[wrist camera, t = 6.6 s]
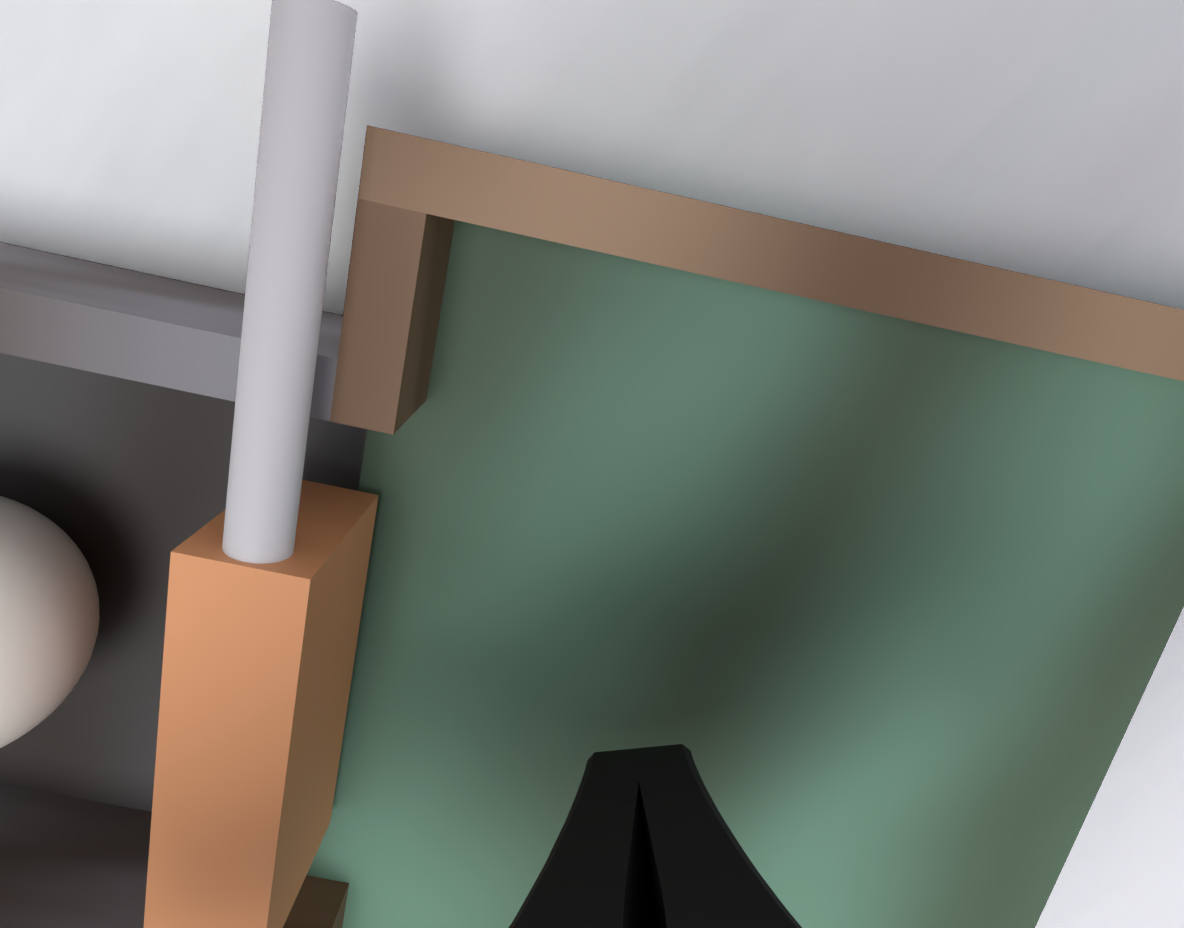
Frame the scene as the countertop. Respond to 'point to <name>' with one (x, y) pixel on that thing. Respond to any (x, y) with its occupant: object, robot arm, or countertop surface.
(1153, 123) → the countertop surface
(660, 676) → the pitch
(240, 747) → the kicker
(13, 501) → the ball
